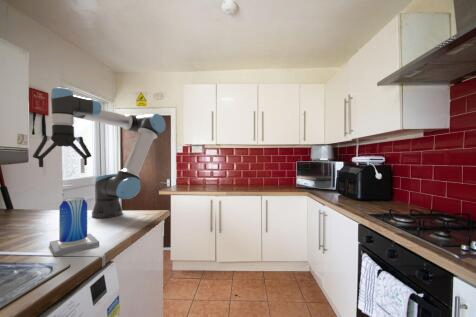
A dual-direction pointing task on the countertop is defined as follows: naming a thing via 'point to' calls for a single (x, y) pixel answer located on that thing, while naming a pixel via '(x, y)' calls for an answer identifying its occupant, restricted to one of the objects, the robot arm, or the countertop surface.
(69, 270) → the countertop surface
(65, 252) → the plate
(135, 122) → the robot arm
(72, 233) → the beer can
